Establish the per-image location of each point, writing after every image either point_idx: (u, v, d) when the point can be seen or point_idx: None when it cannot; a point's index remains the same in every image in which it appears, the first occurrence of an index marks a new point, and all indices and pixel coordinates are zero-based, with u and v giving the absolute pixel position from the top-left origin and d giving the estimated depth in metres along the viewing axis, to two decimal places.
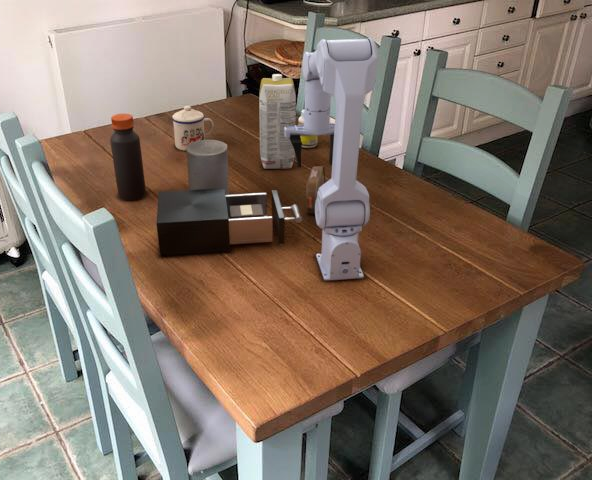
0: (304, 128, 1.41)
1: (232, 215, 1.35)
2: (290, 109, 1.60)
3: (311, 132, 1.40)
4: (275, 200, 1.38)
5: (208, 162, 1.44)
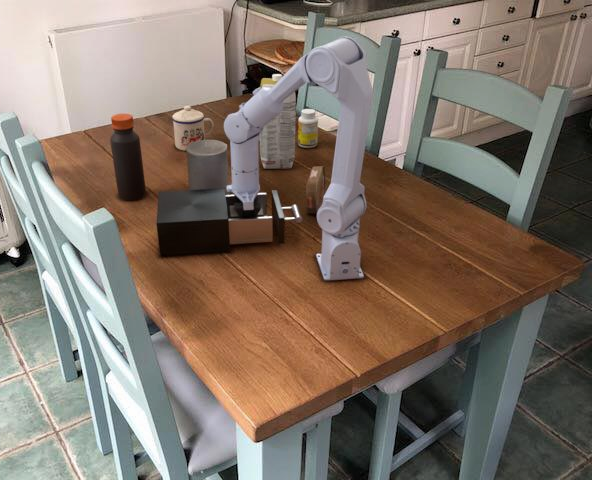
0: (249, 192, 1.31)
1: (232, 215, 1.35)
2: (290, 109, 1.60)
3: (258, 189, 1.33)
4: (275, 200, 1.38)
5: (208, 162, 1.44)
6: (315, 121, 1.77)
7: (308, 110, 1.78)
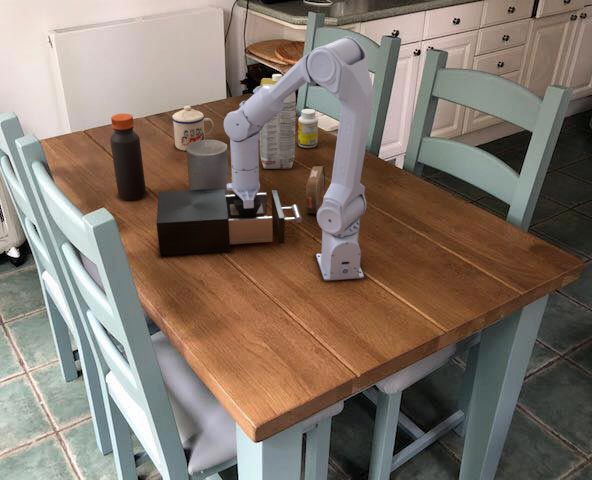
0: (249, 190, 1.31)
1: (232, 214, 1.35)
2: (290, 109, 1.60)
3: (258, 188, 1.32)
4: (275, 200, 1.38)
5: (208, 162, 1.44)
6: (315, 121, 1.77)
7: (308, 110, 1.78)
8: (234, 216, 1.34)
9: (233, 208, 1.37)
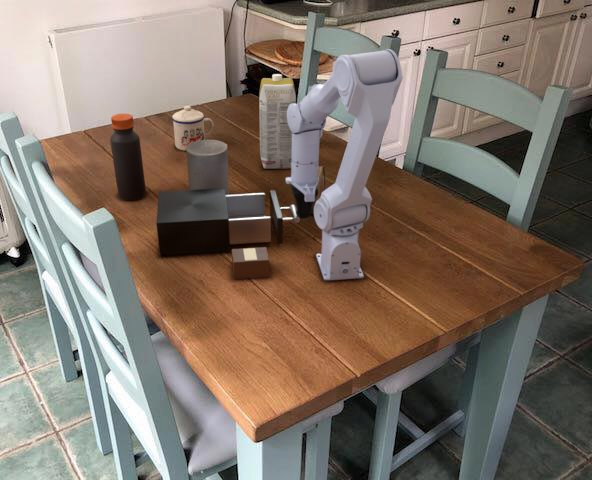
0: (309, 184, 1.32)
1: (235, 260, 1.23)
2: None
3: (318, 182, 1.33)
4: (273, 200, 1.38)
5: (208, 162, 1.44)
6: None
7: None
8: (237, 263, 1.23)
9: (235, 254, 1.25)
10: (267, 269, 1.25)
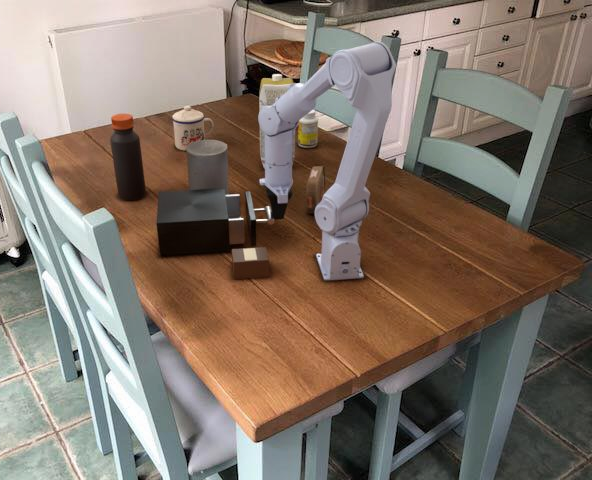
0: (283, 185, 1.31)
1: (235, 260, 1.23)
2: None
3: (291, 183, 1.33)
4: (248, 202, 1.37)
5: (208, 162, 1.44)
6: (315, 121, 1.77)
7: None
8: (237, 263, 1.23)
9: (235, 254, 1.25)
10: (267, 269, 1.25)
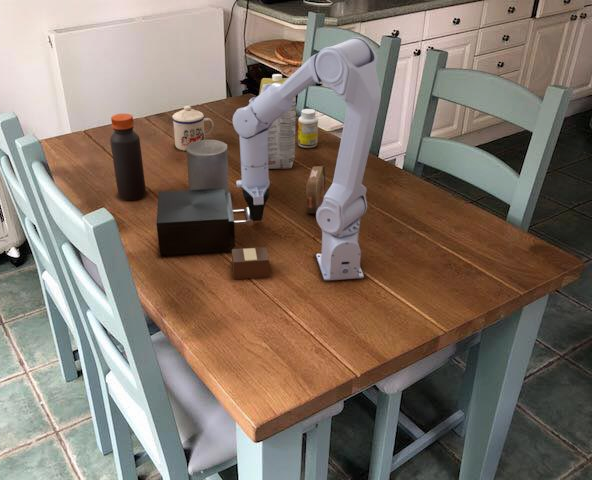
0: (259, 187, 1.31)
1: (235, 260, 1.23)
2: (290, 109, 1.60)
3: (268, 184, 1.32)
4: (227, 203, 1.37)
5: (208, 162, 1.44)
6: (315, 121, 1.77)
7: (308, 110, 1.78)
8: (237, 263, 1.23)
9: (235, 254, 1.25)
10: (267, 269, 1.25)
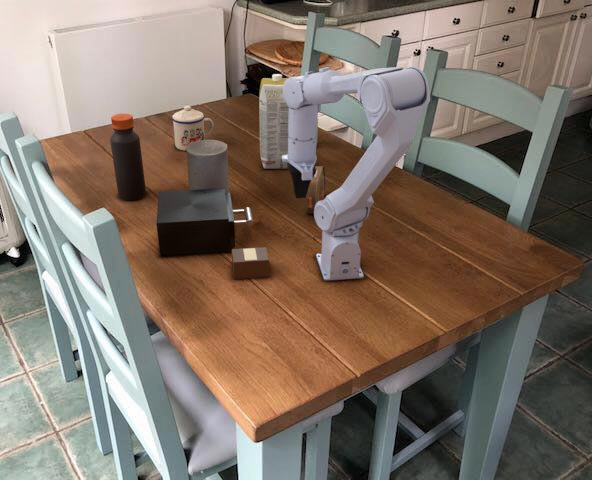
0: (307, 162, 1.26)
1: (235, 260, 1.23)
2: None
3: (315, 160, 1.28)
4: (227, 203, 1.37)
5: (208, 162, 1.44)
6: None
7: None
8: (237, 263, 1.23)
9: (235, 254, 1.25)
10: (267, 269, 1.25)
